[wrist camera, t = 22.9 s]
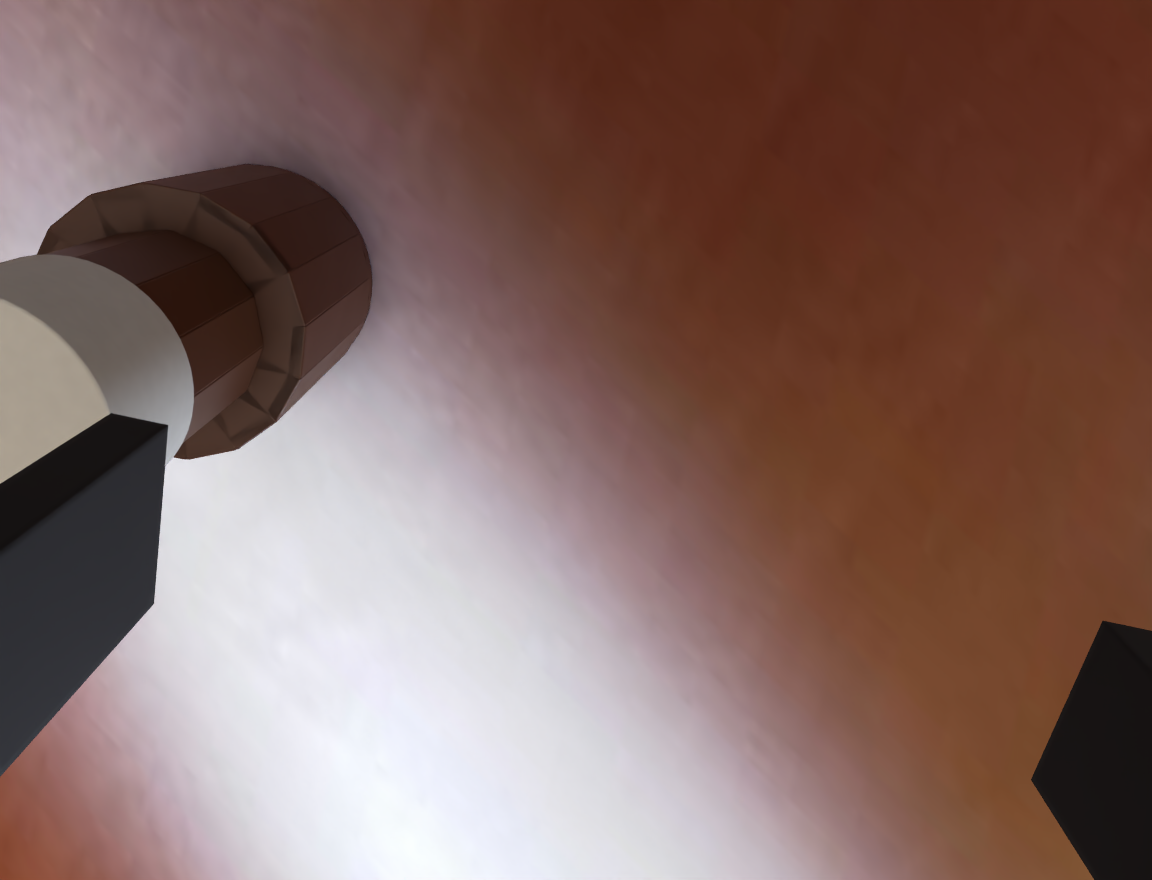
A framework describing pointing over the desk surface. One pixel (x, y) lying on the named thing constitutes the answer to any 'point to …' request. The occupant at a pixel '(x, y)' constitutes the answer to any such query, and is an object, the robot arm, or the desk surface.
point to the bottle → (234, 284)
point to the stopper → (82, 357)
